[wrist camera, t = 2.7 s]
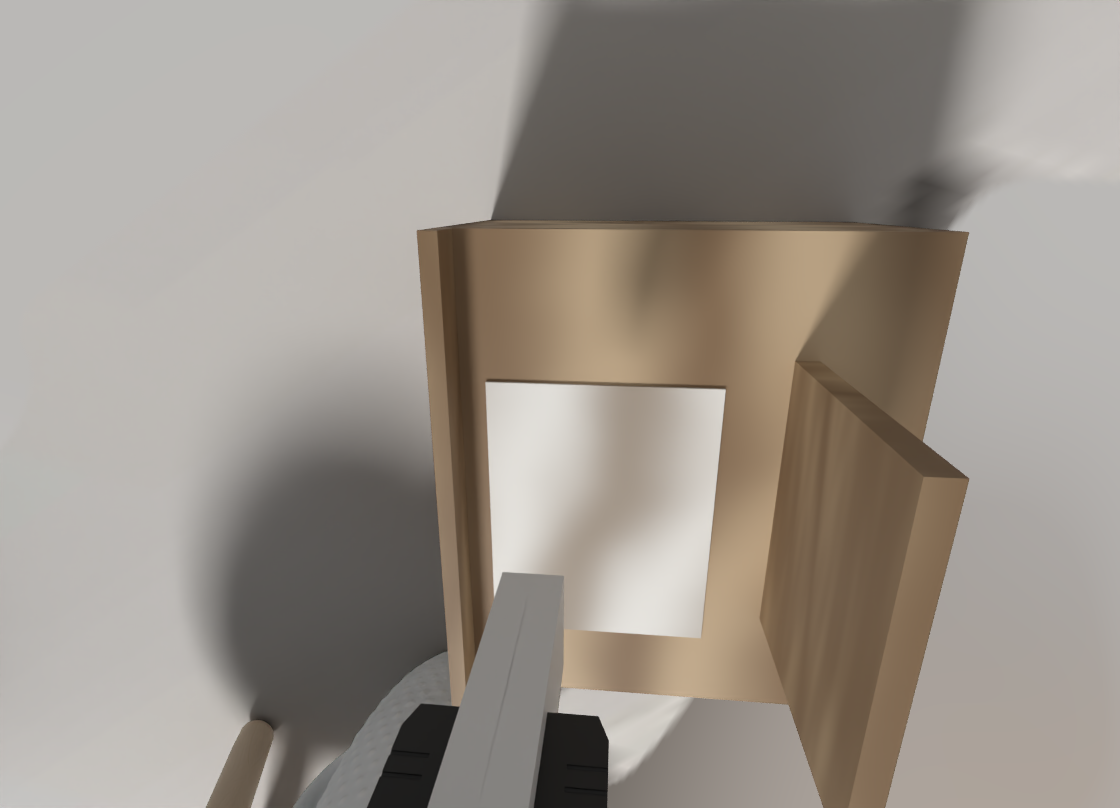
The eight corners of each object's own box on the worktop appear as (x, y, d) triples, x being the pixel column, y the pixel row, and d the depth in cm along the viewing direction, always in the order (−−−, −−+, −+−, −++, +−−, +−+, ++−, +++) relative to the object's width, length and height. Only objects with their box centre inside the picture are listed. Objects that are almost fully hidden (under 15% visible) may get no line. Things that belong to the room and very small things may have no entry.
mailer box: (501, 558, 33) (466, 665, 25) (489, 219, 27) (440, 227, 19) (798, 575, 31) (855, 694, 24) (854, 222, 25) (954, 230, 18)
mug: (385, 784, 39) (279, 1049, 27) (303, 659, 36) (142, 892, 24) (591, 735, 36) (577, 1010, 24) (519, 594, 33) (461, 823, 21)
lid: (466, 668, 25) (387, 909, 16) (438, 227, 19) (295, 247, 11) (856, 697, 24) (991, 977, 15) (957, 231, 18) (1271, 258, 9)
